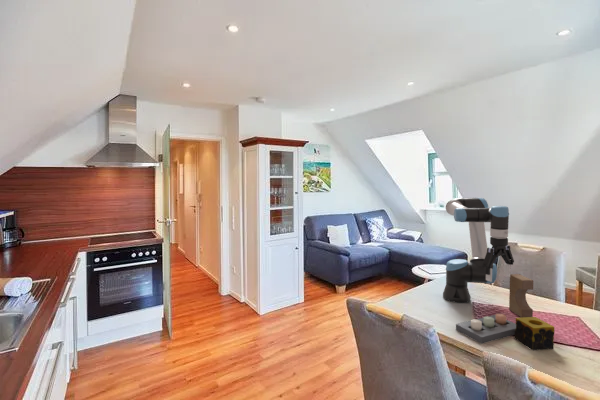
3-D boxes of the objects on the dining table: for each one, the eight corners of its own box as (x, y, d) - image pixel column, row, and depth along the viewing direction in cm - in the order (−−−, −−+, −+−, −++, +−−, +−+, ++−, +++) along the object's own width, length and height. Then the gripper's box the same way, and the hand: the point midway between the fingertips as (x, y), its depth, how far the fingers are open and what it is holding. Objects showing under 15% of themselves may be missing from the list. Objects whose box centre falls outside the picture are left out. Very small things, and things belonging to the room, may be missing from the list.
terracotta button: (493, 322, 153) (493, 314, 153) (499, 320, 155) (500, 313, 154) (501, 326, 149) (502, 318, 149) (508, 324, 151) (508, 316, 150)
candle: (513, 338, 142) (514, 317, 142) (534, 337, 143) (535, 316, 142) (532, 351, 132) (532, 328, 131) (554, 349, 133) (555, 326, 132)
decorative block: (533, 318, 162) (534, 280, 160) (521, 318, 162) (522, 280, 161) (519, 309, 173) (520, 274, 171) (508, 309, 173) (509, 274, 172)
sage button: (481, 325, 151) (481, 317, 150) (487, 323, 152) (488, 315, 152) (489, 329, 146) (489, 321, 146) (496, 327, 148) (496, 319, 148)
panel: (455, 329, 152) (455, 323, 151) (494, 320, 160) (495, 314, 160) (481, 343, 138) (481, 337, 138) (522, 332, 147) (522, 326, 147)
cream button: (468, 328, 148) (468, 320, 148) (475, 326, 149) (475, 318, 149) (476, 332, 144) (476, 324, 143) (483, 330, 145) (483, 322, 145)
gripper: (489, 241, 147) (488, 285, 149) (523, 235, 157) (521, 277, 159) (474, 238, 154) (473, 280, 156) (508, 233, 164) (507, 273, 166)
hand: (498, 278), depth 157 cm, fingers open, 13 cm apart
